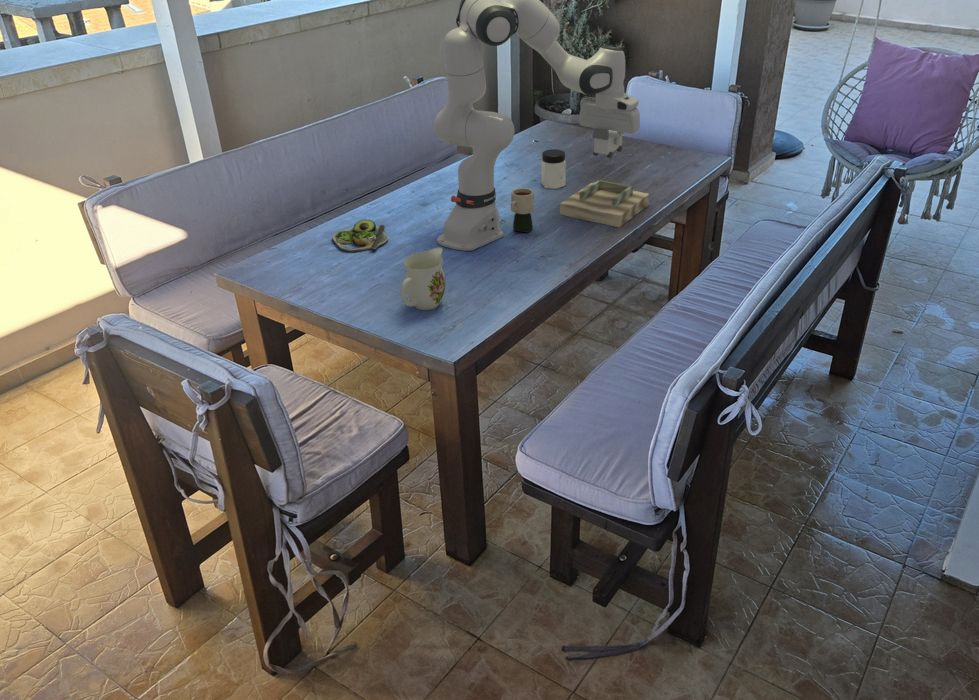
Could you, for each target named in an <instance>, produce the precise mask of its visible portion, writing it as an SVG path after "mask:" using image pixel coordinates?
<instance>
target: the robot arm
mask: <svg viewBox="0 0 979 700" xmlns="http://www.w3.org/2000/svg"><path fill="white" fill-rule="evenodd" d="M455 22H456V25H457V27H456V28H453V29H451V30H450V31H448V32H447V33H446V35H445V36H444V39H443V59H444V60H443V61H444V69H445V75H446V81H447V82H446V84H447V91H448V94H447V95H448V96H447V102H446V104H445V105H444V107H443V108H442V109H441V110H440V111H439V112H438V113H437V114H436V116H435V119H434V122H433V130H434V133H435V136H436V138H437V139H438V140H439V141H442V142H444V143H447V144H449V145H452V146H453V145H454V146H461V147H468V148H471V149H472V155H471V156H469V157H466V158H465V159H463V160H462V161H461V162H460V163H459V165H458V168H457V177H458V178H457V179H458V189H457V193H456V195H451V197H450V201H451V203H455V206H453V208H452V210H451V212H450V214H449V215H448V217H447V218H446V220H445V221H444V223H443V233H441V234H440V235H439V236H438V237H437V239H436V243H437V244H438V245H440V246H441V247H445V248H448V249H452V250H456V251H466V252H467V251H474V250H476V249H479V248H481V247H483V246H485V245H487V244H490V243H491V242H494V241H497V240H499V239H501V238H502V237H504V232H503V231H502V229H501V223H500V215H499V210H498V208H497V204H496V199H497V198H496V196H497V192H496V187H495V184H494V183H495V179H494V177H495V164H496V162H497V158H498V157H499V155H500V154H501V153H502V151H504V150H505V149H507V148H508V147H509V146H510V145H511V144H512V142H513V141H514V136H515V125H514V122H513V121H512V118H511V117H510V116H507V115H505V114H501V113H499V112H496V111H489V110H488V111H487V110H479V109H478V110H477V109H475V108H474V105H473V104H474V103H476V102H479V100H481V99H482V98H483V97H484V96H485V94H486V91H487V81H486V80H487V79H486V73H485V68H484V67H485V65H484V59H483V56H482V54H483V47H484V44H485V45H487V46H492V47H497V46H501V45H503V44H505V43H506V42H507V41H508V40H509V39H510V38H511V37H512V36H513V35H515V34H516V35H517V36H518V37H519V38H520V39H521V40H522V41H523V42H524V43H525V44H526V45H527V46H529V47H530V48H532V49H533V50H535V51H536V52H537V53H538V54H539V55H540V57H541V58H542V59H543V60H544V61H545V62H546V63H547V65H549V67H550V68H551V71H552V73H553V75H554V78H555V79H556V82H557V84H559V86H561V87H562V88H564V89H569V90H572V91H575V92H578V93H580V94H583V95H585V96H584V97H581V99H580V103H579V104H580V105H579V106H580V110H579V116H578V118H579V119H578V124H579V125H580V126H582V127H587V128H592V130H593V129H594V128H599V129H605V130H612V131H617V135H619V136H618V137H617V138H616V139H614V144H615V145H619V144H620V139H621V137H622V138H623V137H624V135H625V133H626V134H631V135H633V134H635V133H637V132H638V131H639V130H640V127H641V116H640V110H639V109H638V108H637V107H638V105H639V100H638V99H637V98H635V97H633V96H631V95H629V94H628V93H626V92H625V86H624V82H625V81H624V80H625V78H626V56H625V52H624V50H623V49H622V48H620V47H616V46H610V45H602V46H600V47H599V49H598V50H597V52H596V53H595V54H594V55H592V56H591V57H589V58H587V59H585V58H582V57H579V56H577V55H575V54H571V53H569V52H567V51H566V50H565V49H564V48H563V46H562V45H560V44H559V42H558V41H557V40H558V38H559V35H560V32H561V24H560V22H559V21H558V19H557V18H556V16H555V15H554V13H553V12H552V11H551V10H550V9H549V8H548V7H547V6H546V5H545V4H544V3H543V2H542V1H541V0H461V1H460V3H459V8H458V13H457V17H456V20H455ZM587 95H588V96H587ZM593 95H595V97H590V96H593Z"/></svg>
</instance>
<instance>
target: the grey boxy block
mask: <svg viewBox="0 0 979 700" xmlns="http://www.w3.org/2000/svg"><path fill="white" fill-rule="evenodd" d="M592 134H593V136H592V137H593V139H594V140H593V151H592V154H593V156H594V157H595V156H596V157H598V156H599V154H602V155H606V157H607V159H612V158H613V154H614V153H613V152H615V151H617V152H618V153H621V152H622V151H623V136H622V137H621V139H620V144H619V145H615V144H614V139H616V138H617V137H618V136H619V135H617V131H612V130H605V129H599V128H594V129H593V128H592Z"/></svg>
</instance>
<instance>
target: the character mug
mask: <svg viewBox="0 0 979 700" xmlns="http://www.w3.org/2000/svg"><path fill="white" fill-rule="evenodd" d="M510 196H511V199H510V201H511V202H510V211H511V212H512V213H514V217H513V225H512V229H513V230H514V231H516V232H523V233H524V232H527V233H528V232H531V231H532V230H533V227H534V226H533V219H532V218H533V217H532V214H531V213H532V212H534V209H535V204H534V203H535V192H534V190H533V189H531V188H525V187H521V188H514V189H513V190H511V194H510Z"/></svg>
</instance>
